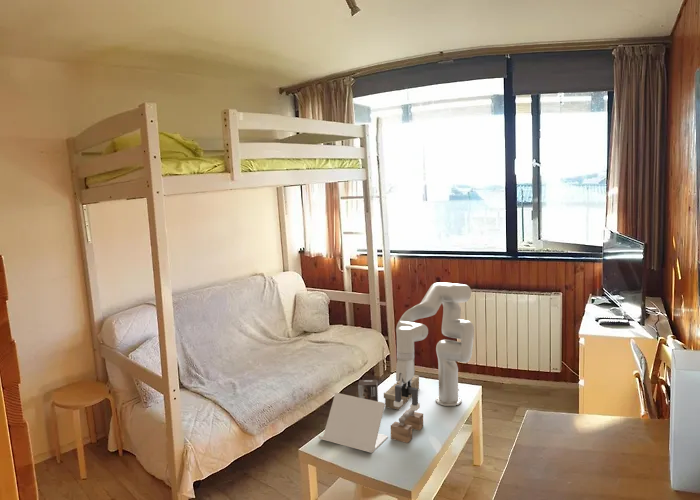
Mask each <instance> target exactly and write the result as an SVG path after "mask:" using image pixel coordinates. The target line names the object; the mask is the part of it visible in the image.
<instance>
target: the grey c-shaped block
mask: <svg viewBox="0 0 700 500" xmlns="http://www.w3.org/2000/svg"><path fill="white" fill-rule="evenodd" d="M408 388H409V393H411V394H412V397H411V404H410V407H409V409H410V410H415V411H414V412H418V410H419V409H420V404H421V403H420V402H419V395H418V394H419V390H418V388H412V387H408ZM402 405H403V400H401V386H399V385H396V386H395V401H394V406H395V407H400V406H402ZM403 406H404V405H403ZM403 406H402V407H403Z"/></svg>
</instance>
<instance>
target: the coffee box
mask: <svg viewBox="0 0 700 500" xmlns="http://www.w3.org/2000/svg"><path fill="white" fill-rule="evenodd" d="M357 389H358V392H357V393H358V397H359V398H363V399H368V400H373V401H378V402H379V392H378V391H379V389H378V379H359V380H358V384H357Z"/></svg>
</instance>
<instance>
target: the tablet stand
mask: <svg viewBox="0 0 700 500" xmlns="http://www.w3.org/2000/svg"><path fill="white" fill-rule="evenodd" d="M385 408H386V407H385V402H382V401H379V400H378V401H373V400H368V399H363V398H359V396H358V397H357V396H354V395H349V394H344V393H339V392H336V393H334V397H333V400H332V403H331V407H330V410H329V413H328V417H327V421H326V425H325V428H324V432H323V436H318V439H319V440H322V441H326V442H328V443H334V444H337V445H341V446H344V447H348V448H352V449H355V450H358V451H359V450H360V451H364V452H365V453H366V452H367V453H371V454H372V453H374V451H376V450H377V449H378V448H379V447H380V446H381V445H382V444H383V443H384V442H385V441H386V440H387V439H388V435H386V434H383V433H379V431H380V427H381V424H382V419H383V414H384V411H385Z"/></svg>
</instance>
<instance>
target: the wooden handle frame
mask: <svg viewBox="0 0 700 500" xmlns="http://www.w3.org/2000/svg"><path fill="white" fill-rule="evenodd" d="M422 428H424V413H421V412H418V411H415V410H410V408H408V409H407V410H405V411H404V412H403V413H402V415H400V416H399V418H398V421H394V422H393V423H392V424H391V425H390V439H391V440H394V441H398V442H402V443H406V444H408V443H410V441H411V440H412V439H413V430H416V431H421V429H422Z"/></svg>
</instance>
